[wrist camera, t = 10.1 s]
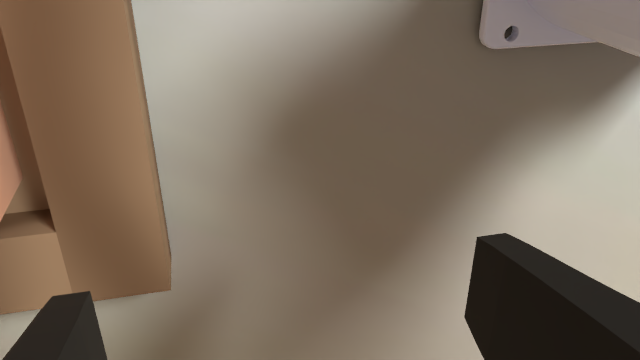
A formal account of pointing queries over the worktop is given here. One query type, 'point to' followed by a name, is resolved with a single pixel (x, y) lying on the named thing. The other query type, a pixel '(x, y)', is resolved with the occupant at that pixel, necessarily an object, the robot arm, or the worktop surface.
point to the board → (78, 156)
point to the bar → (7, 166)
